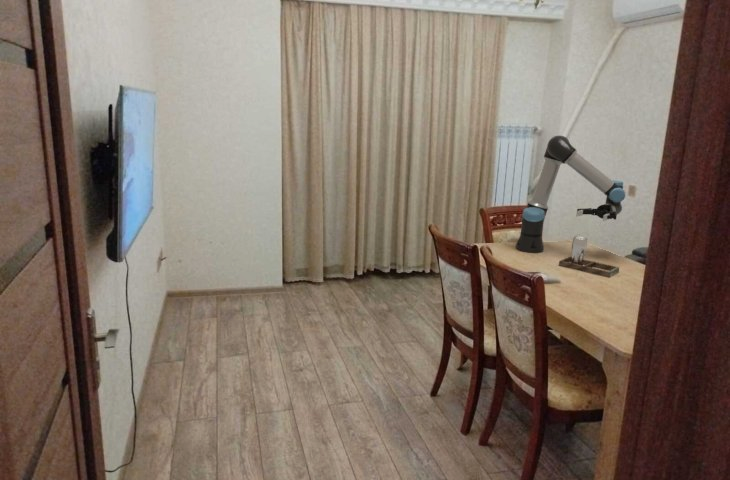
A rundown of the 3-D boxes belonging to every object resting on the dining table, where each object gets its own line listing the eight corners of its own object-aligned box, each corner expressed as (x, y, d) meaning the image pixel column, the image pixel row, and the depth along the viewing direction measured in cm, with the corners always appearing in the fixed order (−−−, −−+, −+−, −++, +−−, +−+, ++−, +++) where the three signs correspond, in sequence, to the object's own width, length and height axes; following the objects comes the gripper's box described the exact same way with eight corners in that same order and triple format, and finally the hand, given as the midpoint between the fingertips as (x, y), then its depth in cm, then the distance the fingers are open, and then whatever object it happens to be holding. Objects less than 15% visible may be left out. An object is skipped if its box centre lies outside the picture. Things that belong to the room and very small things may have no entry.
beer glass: (568, 266, 261) (572, 238, 257) (570, 263, 267) (573, 235, 263) (583, 269, 258) (587, 240, 254) (584, 265, 264) (588, 237, 260)
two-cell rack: (558, 265, 262) (559, 260, 262) (569, 261, 271) (569, 256, 271) (609, 277, 245) (609, 272, 245) (618, 272, 254) (619, 267, 254)
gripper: (629, 221, 270) (614, 227, 255) (581, 214, 287) (565, 219, 272) (631, 207, 268) (616, 212, 254) (583, 201, 285) (567, 205, 271)
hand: (590, 215), depth 263 cm, fingers open, 13 cm apart
